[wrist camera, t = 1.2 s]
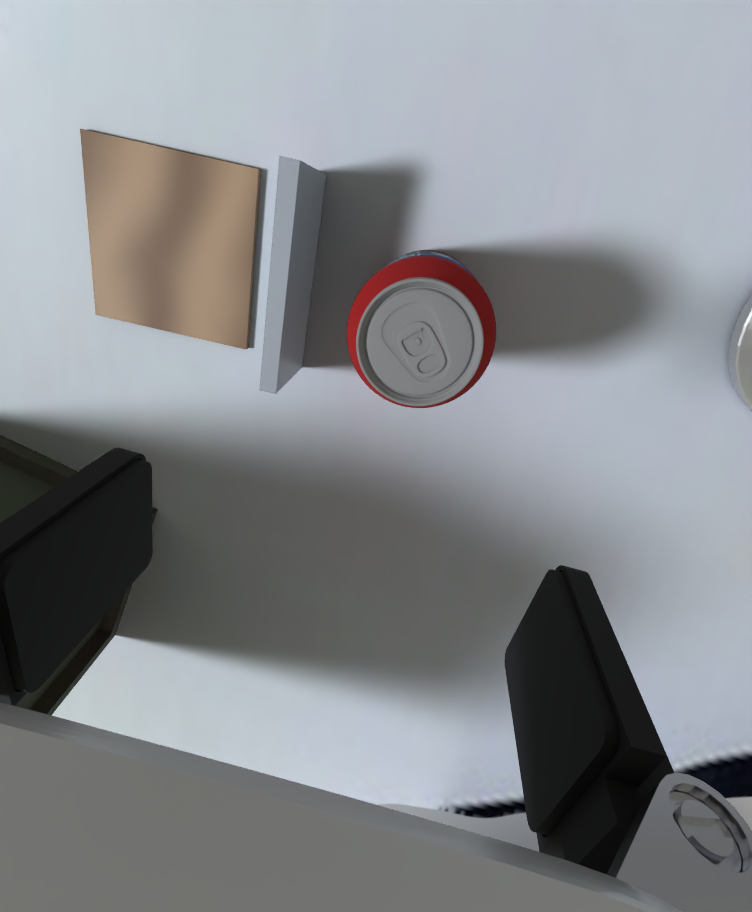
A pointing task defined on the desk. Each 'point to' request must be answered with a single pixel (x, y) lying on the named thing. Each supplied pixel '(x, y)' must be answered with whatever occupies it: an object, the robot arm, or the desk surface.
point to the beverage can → (421, 330)
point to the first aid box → (3, 494)
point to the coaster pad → (171, 238)
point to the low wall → (291, 270)
